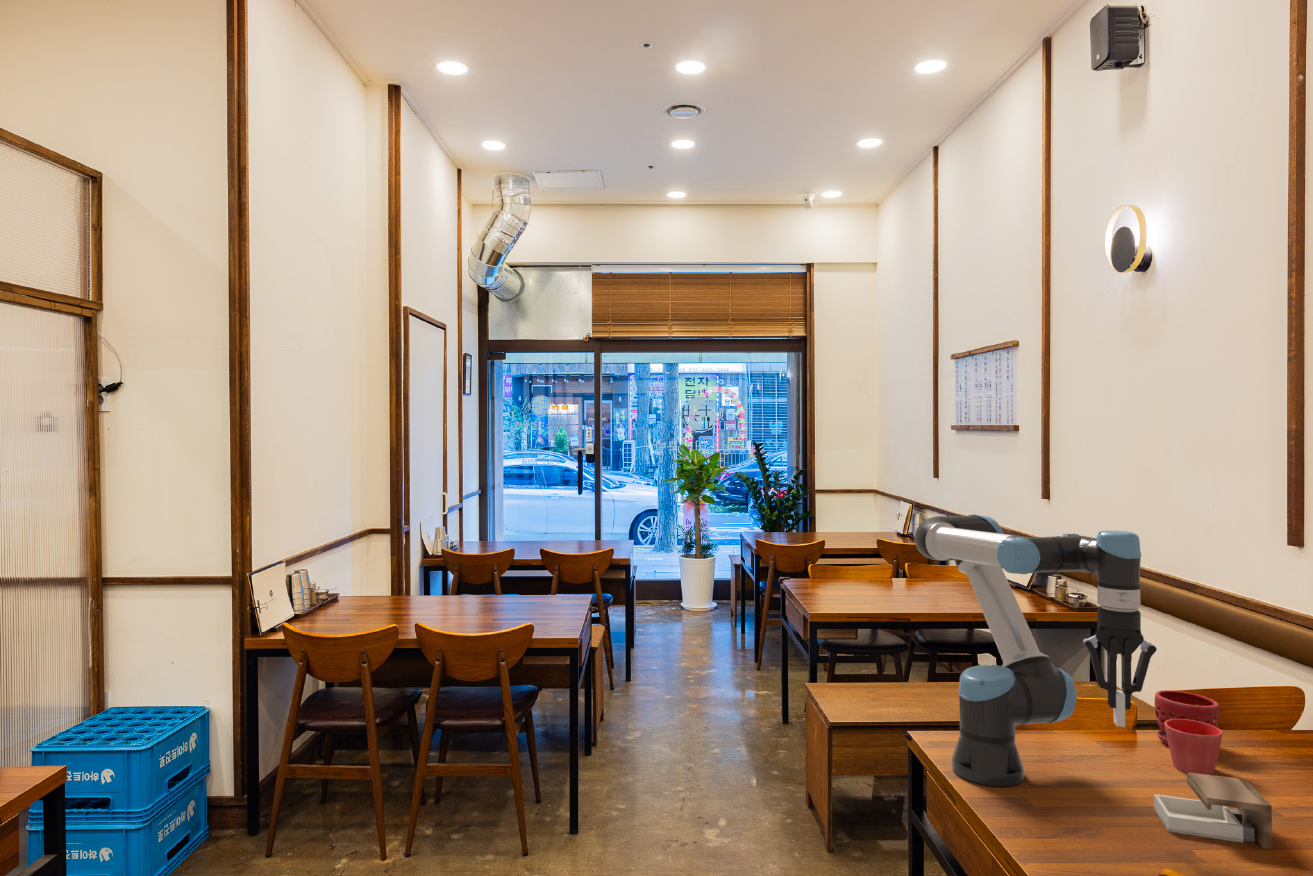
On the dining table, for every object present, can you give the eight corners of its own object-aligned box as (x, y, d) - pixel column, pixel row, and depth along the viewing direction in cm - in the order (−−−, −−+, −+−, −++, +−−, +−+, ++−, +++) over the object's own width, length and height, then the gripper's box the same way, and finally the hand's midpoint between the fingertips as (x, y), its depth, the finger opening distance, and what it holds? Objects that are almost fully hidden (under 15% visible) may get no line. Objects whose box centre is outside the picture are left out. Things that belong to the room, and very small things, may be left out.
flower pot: (1225, 782, 168) (1224, 738, 168) (1166, 772, 174) (1165, 729, 174) (1220, 766, 177) (1220, 724, 177) (1164, 756, 183) (1163, 715, 183)
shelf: (1208, 840, 143) (1207, 797, 143) (1187, 811, 154) (1186, 772, 155) (1272, 849, 140) (1271, 805, 140) (1246, 819, 151) (1245, 779, 151)
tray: (1168, 831, 146) (1168, 816, 146) (1154, 809, 156) (1154, 794, 156) (1243, 842, 142) (1243, 826, 142) (1224, 818, 152) (1224, 803, 152)
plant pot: (1203, 759, 180) (1202, 709, 181) (1144, 741, 192) (1144, 694, 192) (1229, 748, 187) (1228, 700, 187) (1171, 732, 198) (1171, 685, 199)
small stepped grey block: (1242, 840, 143) (1241, 827, 143) (1226, 821, 151) (1226, 808, 151) (1254, 842, 142) (1254, 829, 142) (1238, 822, 150) (1238, 810, 150)
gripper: (1086, 609, 153) (1086, 726, 153) (1161, 614, 148) (1162, 735, 148) (1079, 601, 160) (1079, 714, 160) (1150, 606, 155) (1151, 721, 155)
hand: (1119, 724), depth 154 cm, fingers closed
